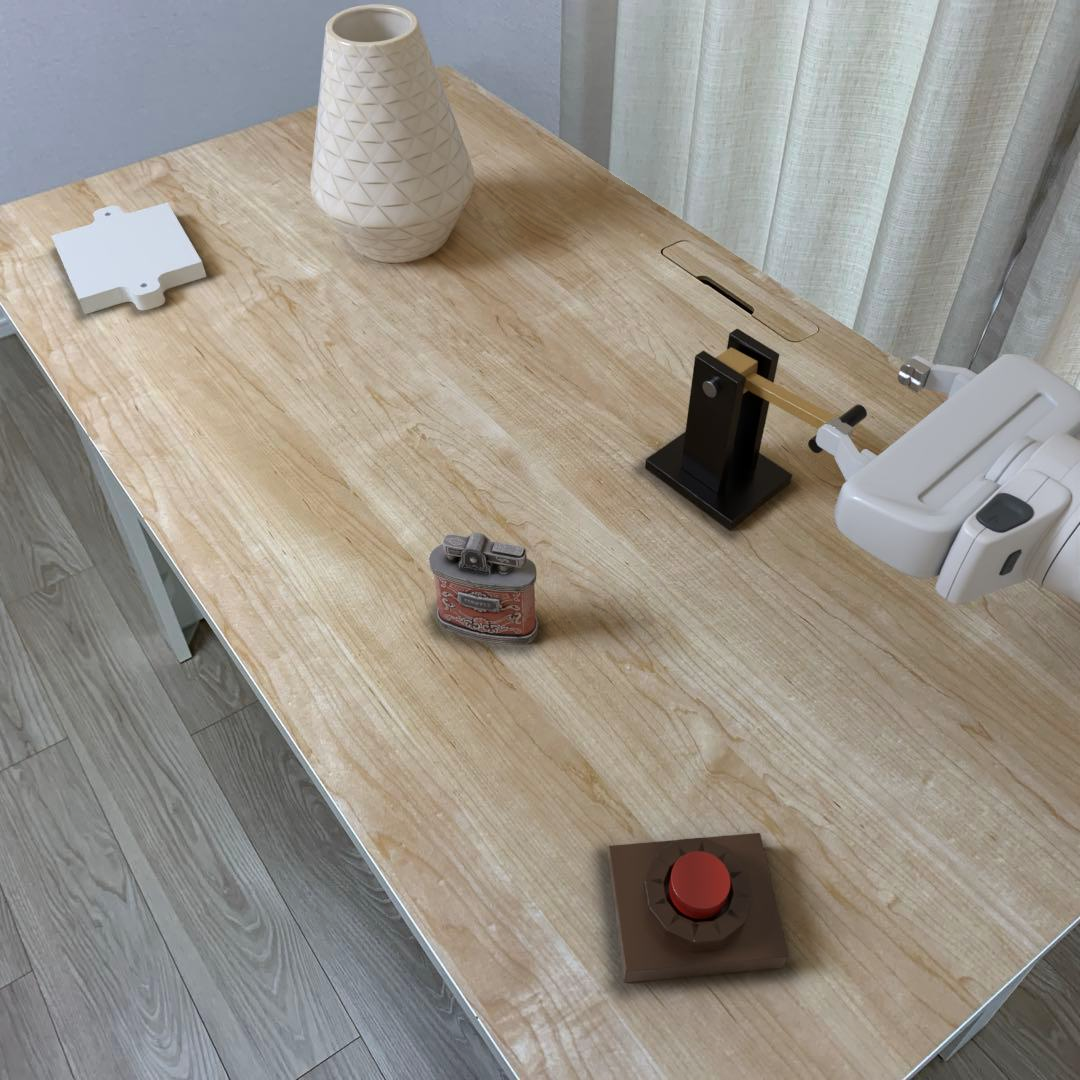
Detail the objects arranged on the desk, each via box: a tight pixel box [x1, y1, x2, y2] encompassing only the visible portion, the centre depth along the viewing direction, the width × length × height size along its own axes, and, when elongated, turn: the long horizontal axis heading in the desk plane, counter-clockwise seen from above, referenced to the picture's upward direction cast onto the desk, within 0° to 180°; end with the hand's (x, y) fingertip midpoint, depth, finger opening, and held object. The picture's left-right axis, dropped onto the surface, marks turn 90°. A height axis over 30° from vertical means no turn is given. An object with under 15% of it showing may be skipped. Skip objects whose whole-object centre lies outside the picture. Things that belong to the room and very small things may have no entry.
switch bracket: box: [644, 328, 793, 532], centre depth 87 cm, size 10×8×14 cm
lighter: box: [428, 532, 539, 645], centre depth 79 cm, size 8×3×10 cm, turn 76°
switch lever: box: [715, 347, 868, 454], centre depth 81 cm, size 12×6×2 cm, turn 42°
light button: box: [669, 851, 731, 919], centre depth 64 cm, size 4×4×2 cm
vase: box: [309, 3, 476, 264], centre depth 108 cm, size 17×17×23 cm
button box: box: [607, 832, 789, 983], centre depth 66 cm, size 10×8×4 cm
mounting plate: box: [50, 202, 207, 315], centre depth 113 cm, size 18×13×2 cm
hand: (865, 397), depth 73 cm, fingers open, 8 cm apart
